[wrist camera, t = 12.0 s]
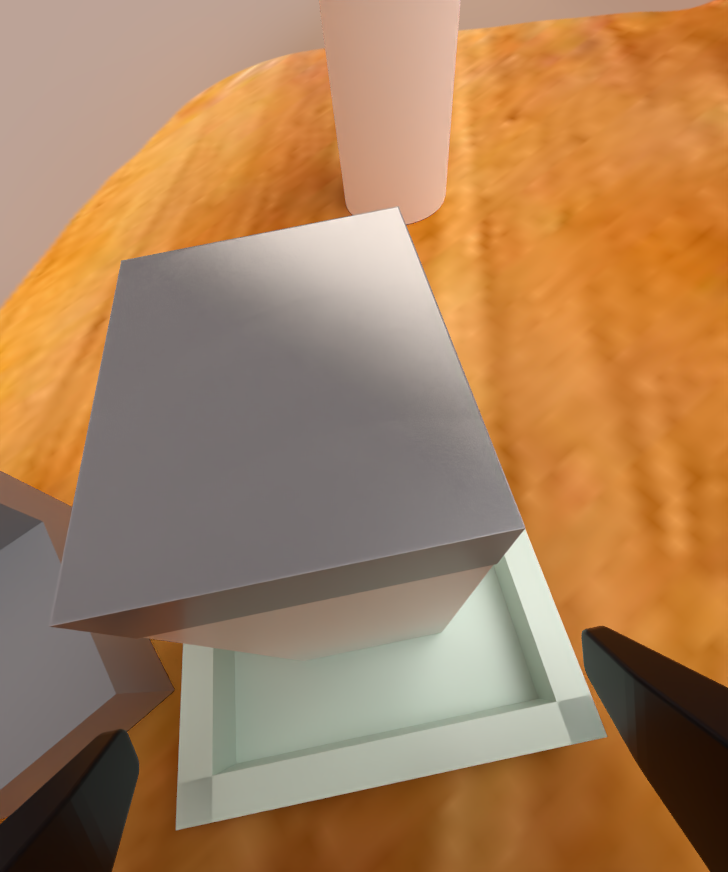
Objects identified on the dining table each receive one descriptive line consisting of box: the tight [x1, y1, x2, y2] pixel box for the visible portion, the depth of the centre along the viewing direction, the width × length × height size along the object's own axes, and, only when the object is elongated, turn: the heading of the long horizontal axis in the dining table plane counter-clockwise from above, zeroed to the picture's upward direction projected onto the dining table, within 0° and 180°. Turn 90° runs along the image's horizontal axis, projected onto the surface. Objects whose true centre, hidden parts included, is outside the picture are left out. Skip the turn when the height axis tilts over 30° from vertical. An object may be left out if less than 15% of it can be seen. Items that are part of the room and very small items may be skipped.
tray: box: [176, 529, 607, 830], centre depth 16 cm, size 13×12×2 cm
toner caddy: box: [49, 206, 525, 661], centre depth 11 cm, size 6×5×12 cm
